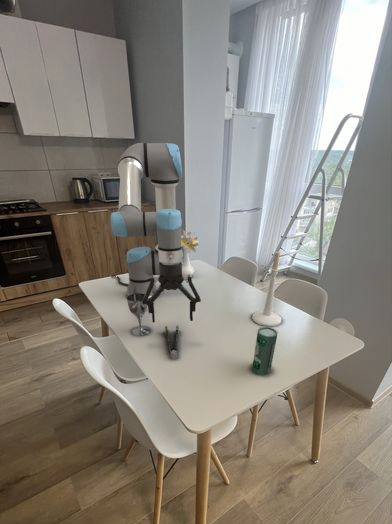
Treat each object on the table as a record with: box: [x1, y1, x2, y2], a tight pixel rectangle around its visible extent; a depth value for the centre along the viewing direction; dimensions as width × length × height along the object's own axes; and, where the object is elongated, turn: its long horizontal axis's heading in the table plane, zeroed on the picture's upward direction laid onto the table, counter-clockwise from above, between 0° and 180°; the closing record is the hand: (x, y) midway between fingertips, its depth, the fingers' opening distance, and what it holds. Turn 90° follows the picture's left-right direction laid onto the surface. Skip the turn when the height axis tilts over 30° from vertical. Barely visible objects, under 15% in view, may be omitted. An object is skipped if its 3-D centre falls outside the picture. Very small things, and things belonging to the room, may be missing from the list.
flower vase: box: [181, 229, 200, 278], centre depth 169 cm, size 13×18×25 cm
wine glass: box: [126, 293, 151, 336], centre depth 119 cm, size 8×8×15 cm
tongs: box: [164, 325, 180, 360], centre depth 114 cm, size 19×6×3 cm, turn 7°
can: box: [251, 326, 279, 376], centre depth 98 cm, size 6×6×15 cm
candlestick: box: [251, 251, 282, 327], centre depth 125 cm, size 13×13×30 cm
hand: (172, 320), depth 108 cm, fingers open, 13 cm apart
